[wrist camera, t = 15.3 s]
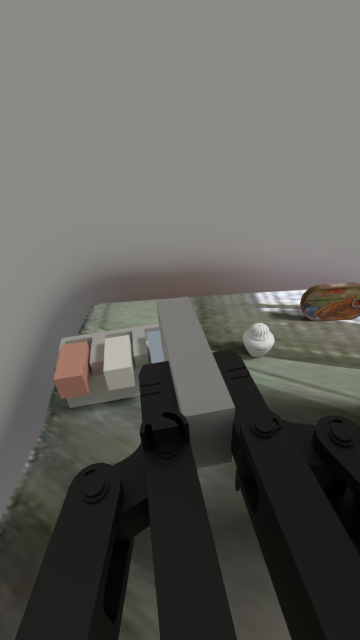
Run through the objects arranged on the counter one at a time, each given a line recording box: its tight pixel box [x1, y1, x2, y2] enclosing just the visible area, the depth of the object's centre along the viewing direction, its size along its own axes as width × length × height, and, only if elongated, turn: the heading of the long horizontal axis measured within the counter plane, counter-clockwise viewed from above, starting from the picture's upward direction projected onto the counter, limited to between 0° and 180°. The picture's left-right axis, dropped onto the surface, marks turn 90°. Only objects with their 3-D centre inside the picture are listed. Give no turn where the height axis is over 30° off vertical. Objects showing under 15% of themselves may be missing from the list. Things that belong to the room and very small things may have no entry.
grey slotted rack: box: [54, 324, 160, 408], centre depth 53 cm, size 20×8×9 cm, turn 101°
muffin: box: [243, 323, 274, 358], centre depth 58 cm, size 6×6×7 cm
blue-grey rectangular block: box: [147, 330, 165, 363], centre depth 48 cm, size 4×8×4 cm, turn 10°
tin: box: [300, 283, 360, 321], centre depth 67 cm, size 15×3×8 cm, turn 90°
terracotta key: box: [53, 341, 91, 399], centre depth 46 cm, size 4×8×4 cm, turn 11°
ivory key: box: [103, 335, 135, 390], centre depth 47 cm, size 4×8×4 cm, turn 11°
